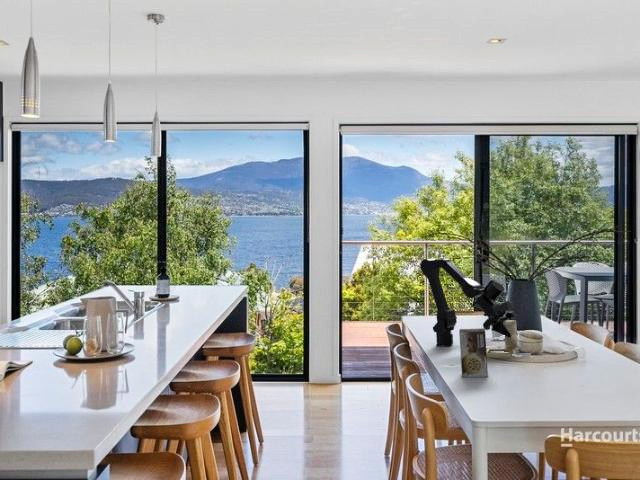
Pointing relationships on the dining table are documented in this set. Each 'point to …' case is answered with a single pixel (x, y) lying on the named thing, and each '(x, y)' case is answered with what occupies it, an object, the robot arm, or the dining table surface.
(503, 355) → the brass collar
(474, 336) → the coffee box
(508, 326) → the disc
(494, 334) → the shot glass
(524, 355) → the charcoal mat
